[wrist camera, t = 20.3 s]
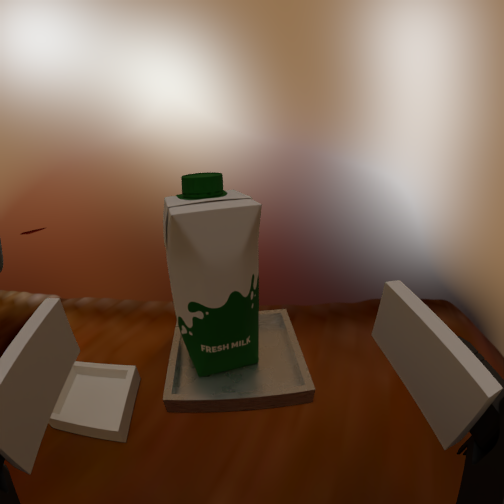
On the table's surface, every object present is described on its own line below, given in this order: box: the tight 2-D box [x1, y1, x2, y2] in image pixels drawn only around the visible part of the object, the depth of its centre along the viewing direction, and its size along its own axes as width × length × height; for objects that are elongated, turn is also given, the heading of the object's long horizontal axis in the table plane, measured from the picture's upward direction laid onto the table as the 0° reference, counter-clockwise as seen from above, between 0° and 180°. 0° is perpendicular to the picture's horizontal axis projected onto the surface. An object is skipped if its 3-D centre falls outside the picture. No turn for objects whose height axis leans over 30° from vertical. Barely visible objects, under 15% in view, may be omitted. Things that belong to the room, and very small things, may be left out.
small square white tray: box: [48, 361, 141, 443], centre depth 23 cm, size 9×9×2 cm
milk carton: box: [163, 173, 262, 377], centre depth 28 cm, size 9×9×20 cm
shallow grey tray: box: [163, 309, 315, 412], centre depth 31 cm, size 15×15×2 cm
